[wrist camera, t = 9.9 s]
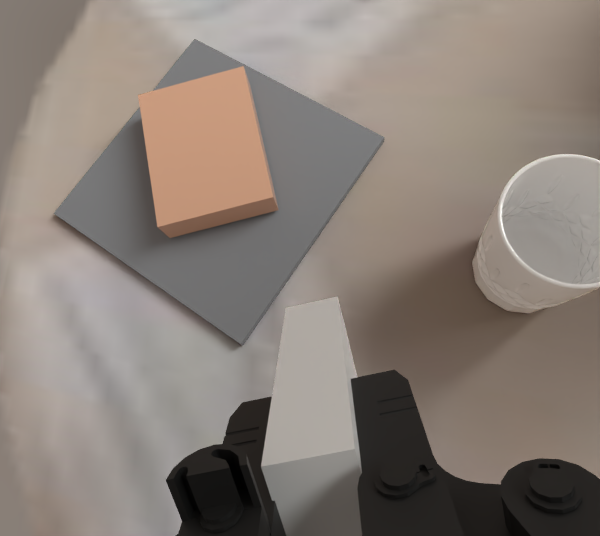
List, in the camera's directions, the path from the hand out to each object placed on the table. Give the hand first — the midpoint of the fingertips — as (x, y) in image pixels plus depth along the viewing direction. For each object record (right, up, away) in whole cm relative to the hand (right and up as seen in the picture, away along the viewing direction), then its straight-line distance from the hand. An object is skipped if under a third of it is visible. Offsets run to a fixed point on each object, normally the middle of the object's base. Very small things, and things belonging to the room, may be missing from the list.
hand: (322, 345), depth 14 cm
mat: (-8, +10, +28) cm, 30 cm away
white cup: (+16, +2, +23) cm, 28 cm away
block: (-7, +6, +24) cm, 26 cm away
